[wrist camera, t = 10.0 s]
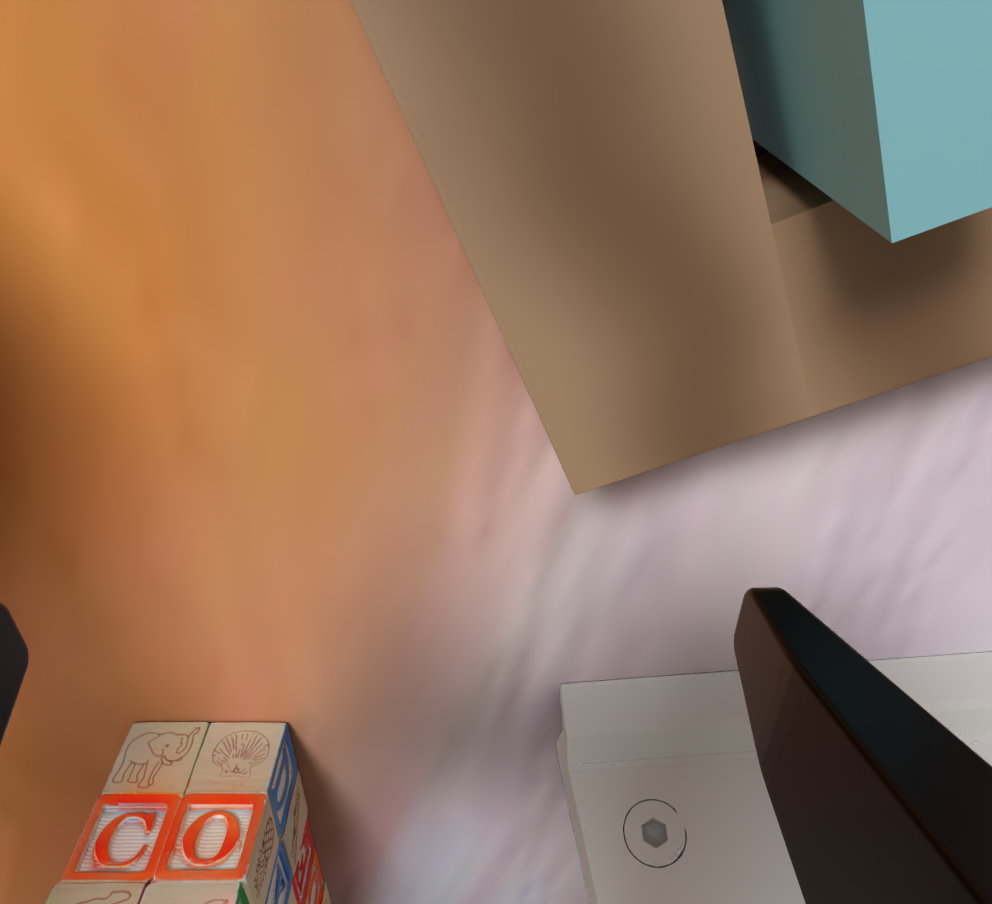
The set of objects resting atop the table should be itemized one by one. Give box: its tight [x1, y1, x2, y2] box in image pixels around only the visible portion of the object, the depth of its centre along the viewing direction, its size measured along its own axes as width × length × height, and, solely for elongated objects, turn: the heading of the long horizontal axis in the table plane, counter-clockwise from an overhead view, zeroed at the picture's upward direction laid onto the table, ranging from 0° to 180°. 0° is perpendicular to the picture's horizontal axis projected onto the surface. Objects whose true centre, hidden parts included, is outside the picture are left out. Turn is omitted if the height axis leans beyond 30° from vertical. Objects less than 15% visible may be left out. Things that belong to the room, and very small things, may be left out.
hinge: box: [556, 652, 992, 904], centre depth 27 cm, size 17×5×10 cm, turn 96°
